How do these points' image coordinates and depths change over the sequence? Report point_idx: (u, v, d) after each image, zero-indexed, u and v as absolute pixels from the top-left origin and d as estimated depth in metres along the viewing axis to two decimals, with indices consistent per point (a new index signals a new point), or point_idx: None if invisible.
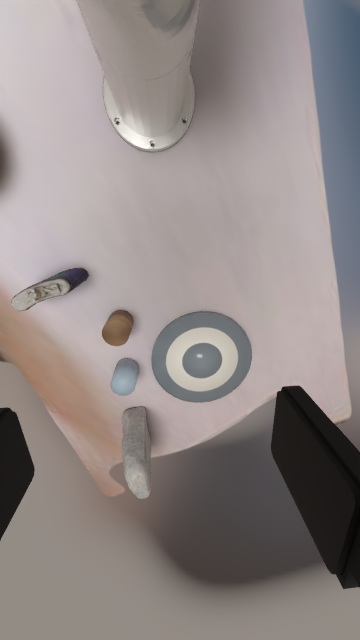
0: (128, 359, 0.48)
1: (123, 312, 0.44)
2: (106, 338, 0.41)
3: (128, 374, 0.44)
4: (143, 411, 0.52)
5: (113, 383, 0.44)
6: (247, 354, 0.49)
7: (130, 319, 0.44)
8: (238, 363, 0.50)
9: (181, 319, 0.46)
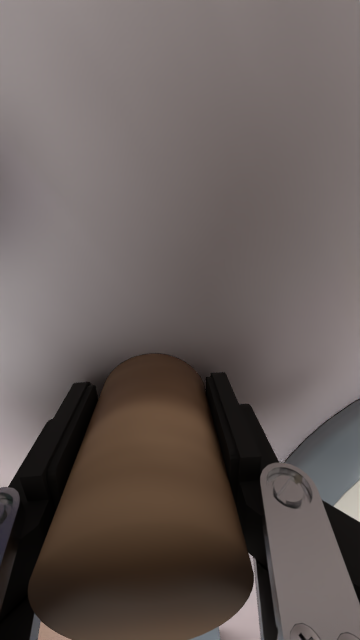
0: None
1: (171, 370, 0.09)
2: (70, 622, 0.05)
3: None
4: None
5: None
6: None
7: (208, 407, 0.09)
8: None
9: None
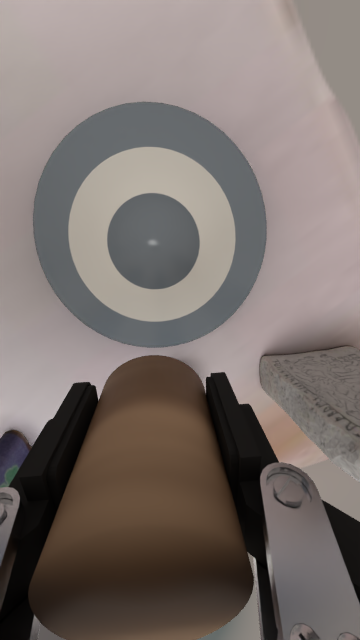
0: None
1: (171, 372, 0.09)
2: (70, 624, 0.05)
3: None
4: (266, 363, 0.26)
5: None
6: (133, 117, 0.18)
7: (208, 409, 0.09)
8: (161, 144, 0.19)
9: (58, 292, 0.22)
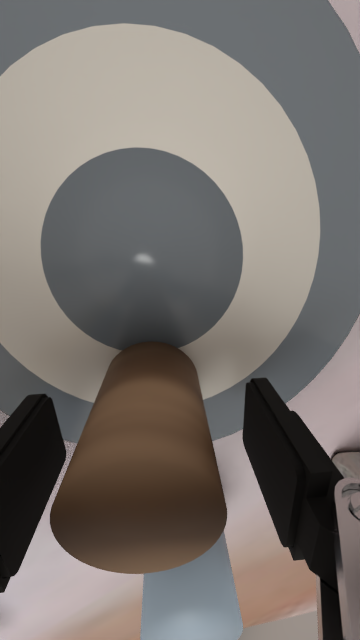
0: None
1: (167, 355, 0.10)
2: (81, 545, 0.06)
3: (146, 610, 0.10)
4: (350, 475, 0.14)
5: None
6: None
7: (198, 388, 0.10)
8: (160, 17, 0.07)
9: None
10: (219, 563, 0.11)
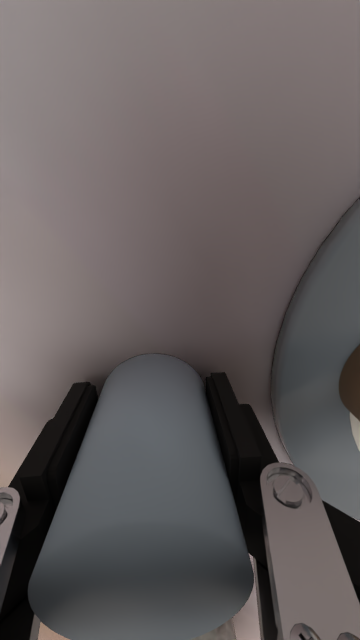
0: (163, 360, 0.09)
1: None
2: None
3: (196, 500, 0.05)
4: None
5: (53, 588, 0.05)
6: None
7: None
8: None
9: None
10: None
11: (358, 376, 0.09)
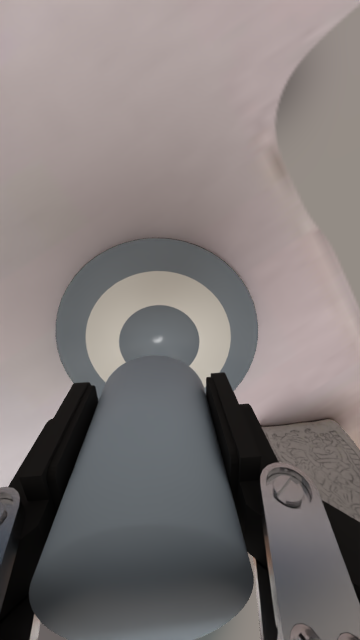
0: (163, 362, 0.09)
1: None
2: None
3: (196, 502, 0.05)
4: None
5: (54, 590, 0.05)
6: (145, 249, 0.22)
7: None
8: (168, 268, 0.22)
9: (74, 380, 0.26)
10: None
11: None
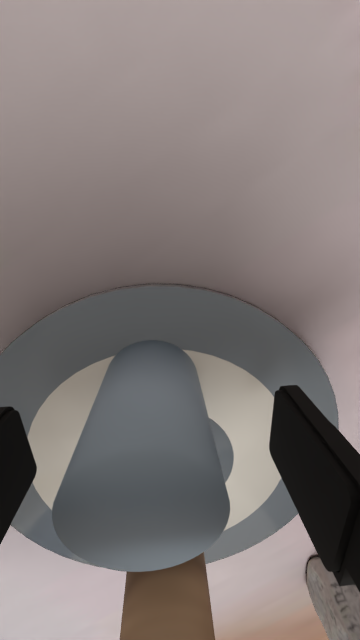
0: (159, 345, 0.11)
1: None
2: None
3: (183, 440, 0.06)
4: (320, 583, 0.18)
5: (72, 509, 0.06)
6: (131, 310, 0.11)
7: (201, 554, 0.14)
8: (177, 344, 0.11)
9: (15, 524, 0.15)
10: None
11: None
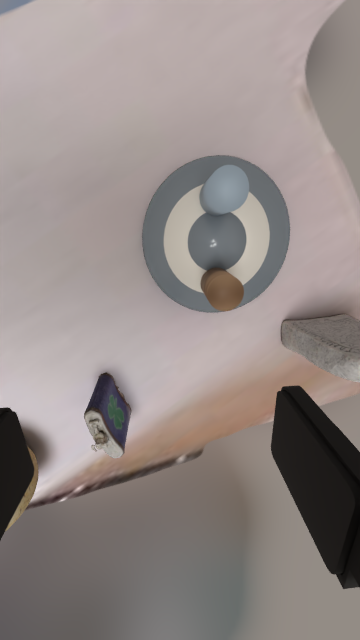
0: None
1: (223, 269, 0.33)
2: (212, 300, 0.30)
3: (238, 168, 0.25)
4: (286, 325, 0.38)
5: (212, 183, 0.25)
6: (211, 164, 0.30)
7: None
8: None
9: (152, 273, 0.34)
10: None
11: None
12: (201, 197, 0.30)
